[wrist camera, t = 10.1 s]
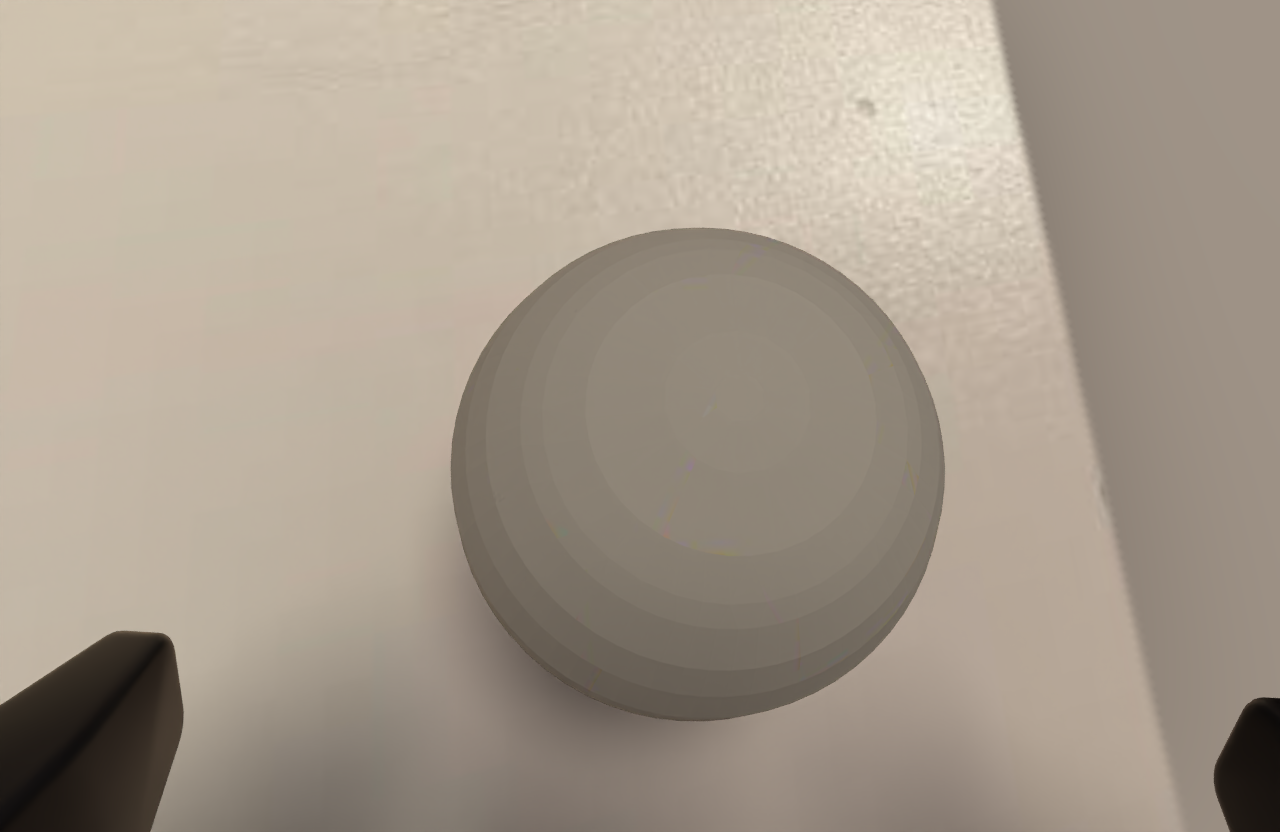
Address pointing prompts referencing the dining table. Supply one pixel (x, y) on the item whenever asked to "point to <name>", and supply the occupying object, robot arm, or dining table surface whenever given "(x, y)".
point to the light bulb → (697, 474)
